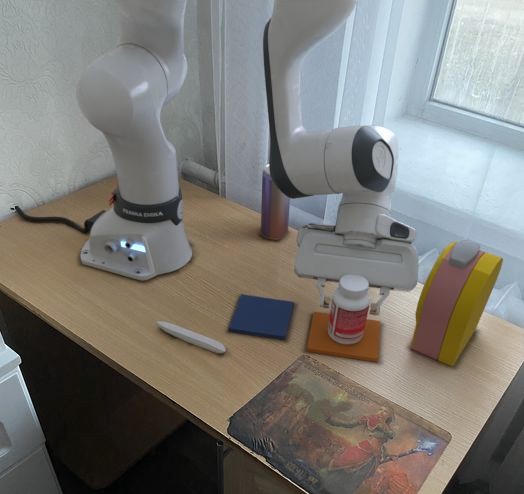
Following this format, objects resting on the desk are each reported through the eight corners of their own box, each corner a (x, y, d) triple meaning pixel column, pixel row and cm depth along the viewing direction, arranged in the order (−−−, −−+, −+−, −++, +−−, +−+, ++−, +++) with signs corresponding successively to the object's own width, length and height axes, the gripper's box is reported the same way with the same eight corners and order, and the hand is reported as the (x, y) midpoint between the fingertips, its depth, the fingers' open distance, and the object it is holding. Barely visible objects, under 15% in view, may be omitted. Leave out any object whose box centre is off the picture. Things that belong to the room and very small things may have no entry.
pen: (159, 325, 95) (158, 317, 93) (228, 351, 90) (227, 343, 89) (154, 330, 93) (152, 322, 92) (223, 356, 89) (223, 349, 88)
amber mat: (306, 351, 91) (306, 347, 90) (313, 314, 98) (313, 311, 97) (377, 362, 89) (378, 358, 89) (379, 324, 96) (380, 321, 96)
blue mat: (228, 331, 94) (228, 328, 93) (241, 297, 101) (241, 294, 100) (284, 340, 93) (285, 336, 92) (293, 305, 100) (293, 301, 99)
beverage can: (256, 237, 117) (258, 171, 106) (266, 224, 121) (269, 160, 111) (281, 243, 115) (286, 177, 105) (291, 230, 119) (296, 165, 109)
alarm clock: (435, 308, 100) (463, 221, 88) (478, 325, 97) (513, 237, 84) (402, 352, 91) (428, 261, 79) (448, 372, 88) (483, 281, 75)
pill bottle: (370, 338, 92) (381, 286, 85) (342, 350, 90) (352, 298, 82) (346, 318, 96) (356, 267, 89) (320, 329, 94) (327, 278, 86)
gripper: (299, 215, 87) (285, 299, 87) (426, 231, 85) (413, 317, 84) (300, 226, 93) (288, 304, 93) (419, 241, 91) (407, 321, 91)
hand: (348, 311), depth 89 cm, fingers open, 7 cm apart
